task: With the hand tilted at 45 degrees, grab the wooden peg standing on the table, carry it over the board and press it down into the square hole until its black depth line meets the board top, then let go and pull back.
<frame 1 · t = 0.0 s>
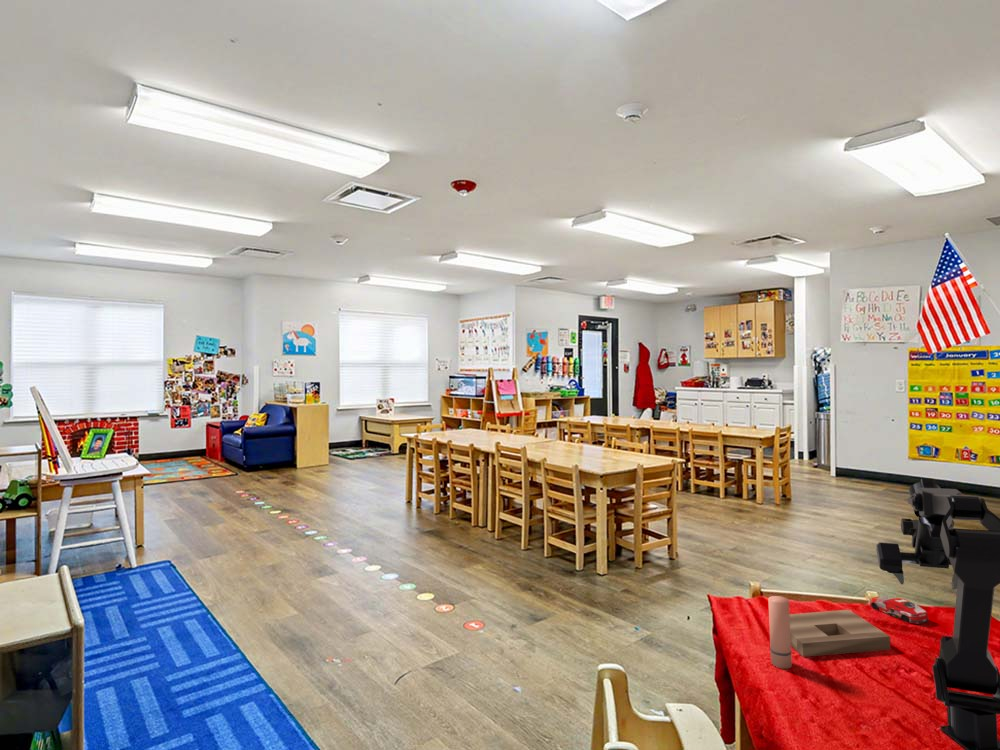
hand: (926, 585, 127), 15 cm above the table, tool tilted 35°, fingers open, 9 cm apart
peg: (781, 663, 126), on the table
board: (827, 638, 136), on the table
race car: (898, 615, 146), on the table
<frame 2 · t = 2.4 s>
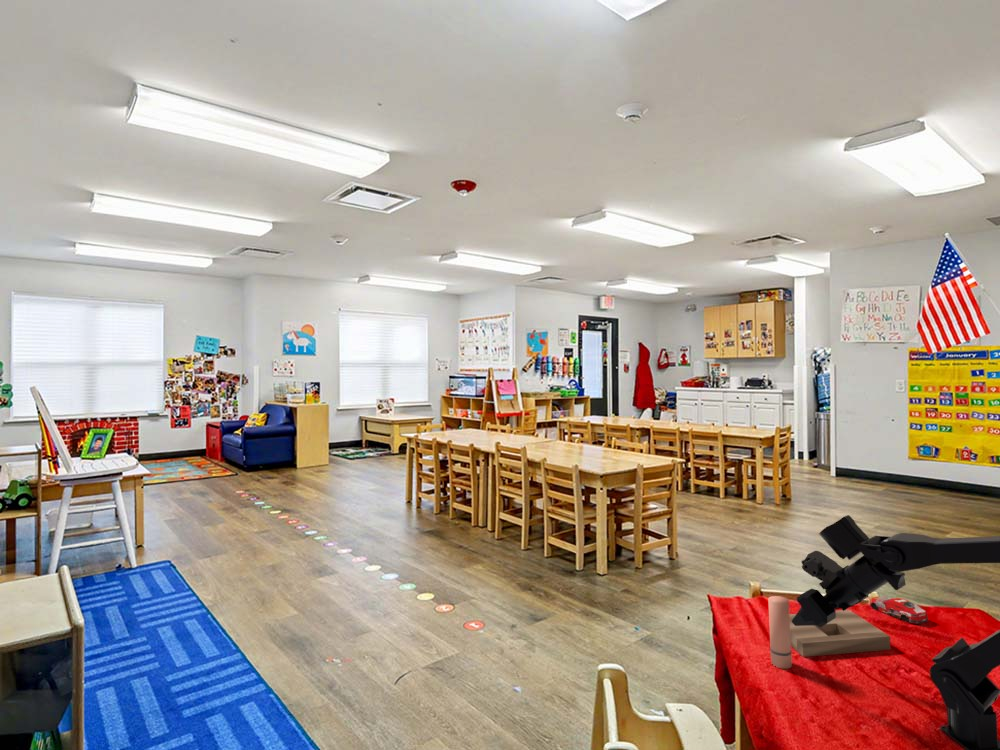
hand: (804, 616, 121), 12 cm above the table, tool tilted 45°, fingers open, 9 cm apart
nothing on the table moved.
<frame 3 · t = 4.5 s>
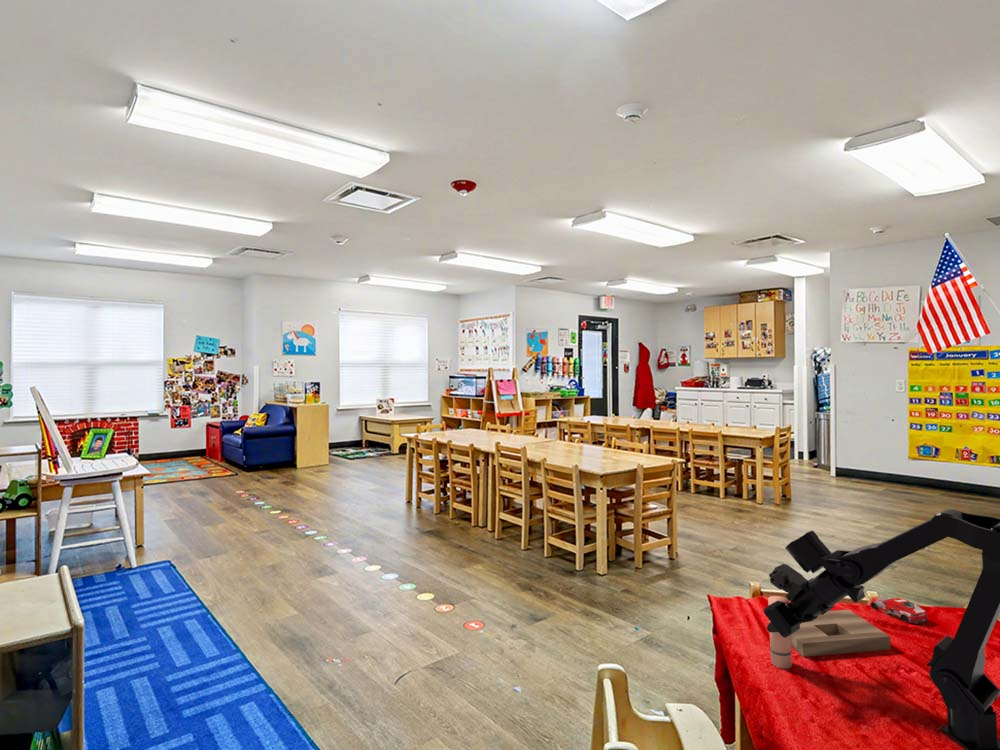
hand: (773, 626, 127), 8 cm above the table, tool tilted 45°, fingers closed on peg, 4 cm apart
peg: (781, 663, 126), on the table, touching gripper
everything else where it was.
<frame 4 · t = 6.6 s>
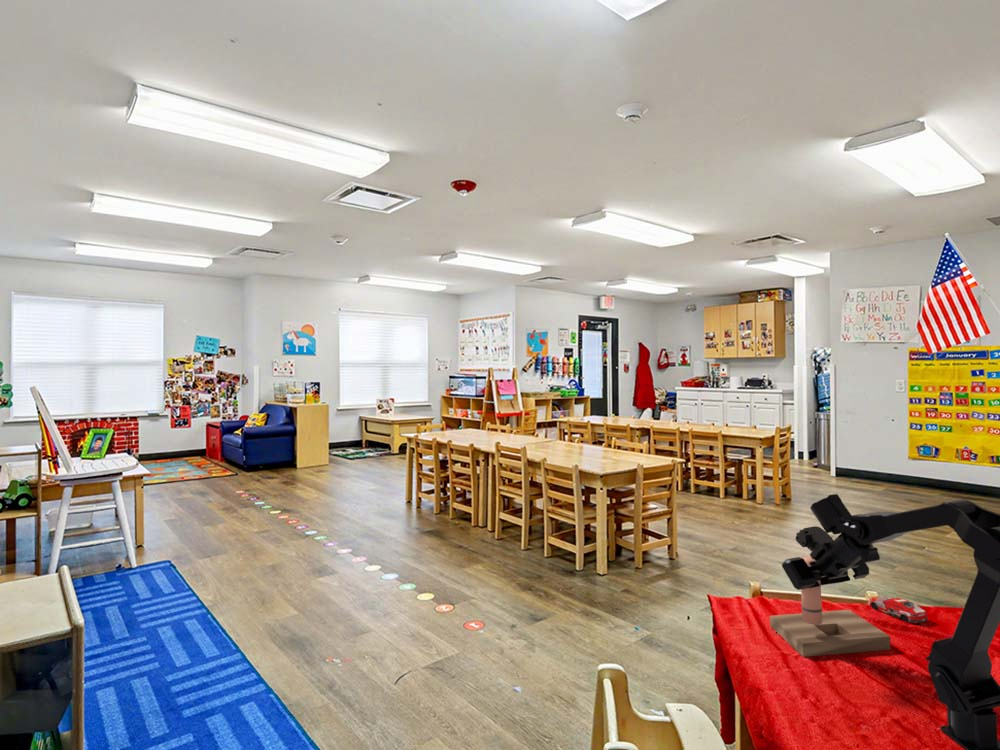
hand: (806, 585, 133), 14 cm above the table, tool tilted 45°, fingers closed on peg, 4 cm apart
peg: (812, 620, 132), point 6 cm above the table, touching gripper
everything else where it was.
when the fingers open (8 cm above the table, at t = 8.5 s): peg stays where it is, resting in board.
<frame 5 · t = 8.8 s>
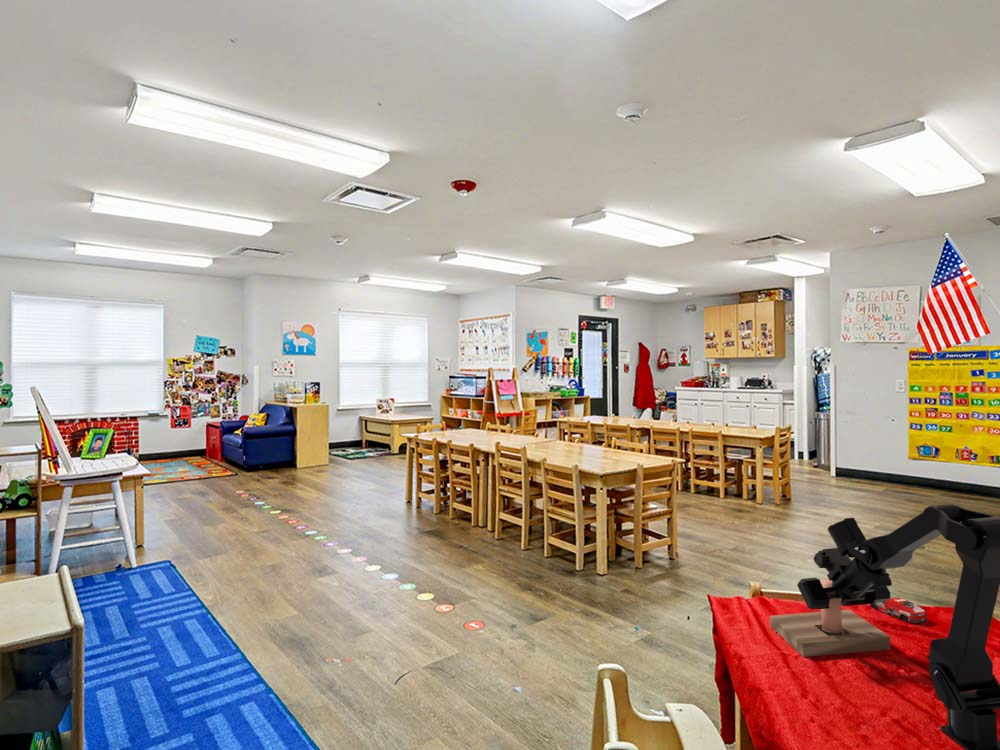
hand: (827, 605, 135), 8 cm above the table, tool tilted 45°, fingers open, 7 cm apart
peg: (832, 642, 134), resting in board
everything else where it was.
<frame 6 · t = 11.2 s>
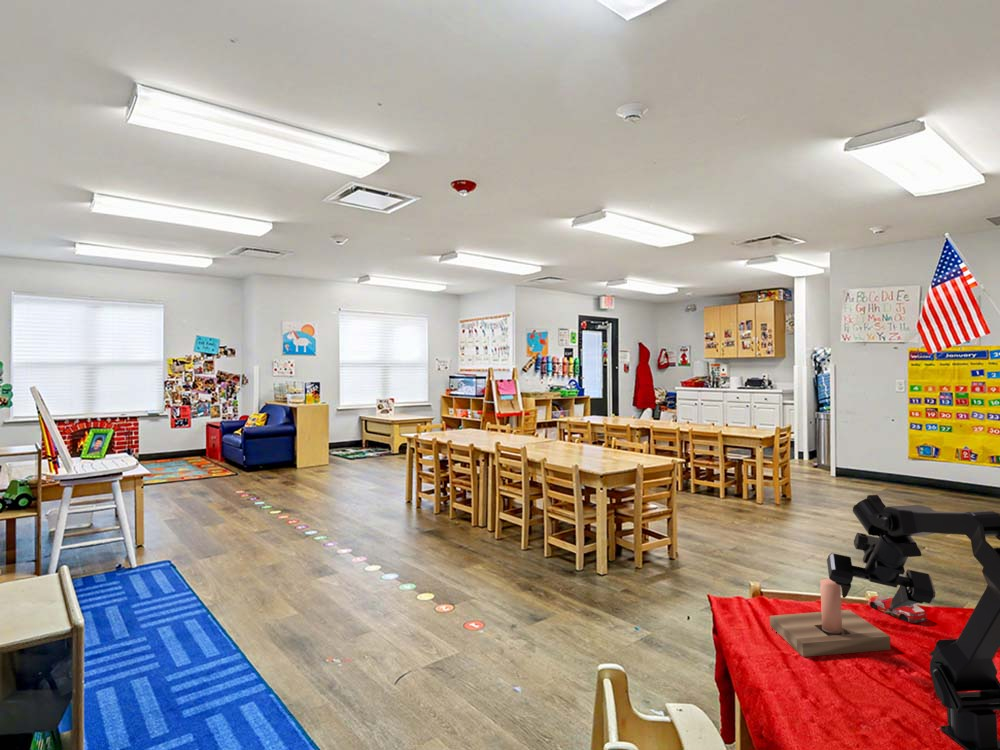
hand: (867, 601, 126), 12 cm above the table, tool tilted 30°, fingers open, 9 cm apart
nothing on the table moved.
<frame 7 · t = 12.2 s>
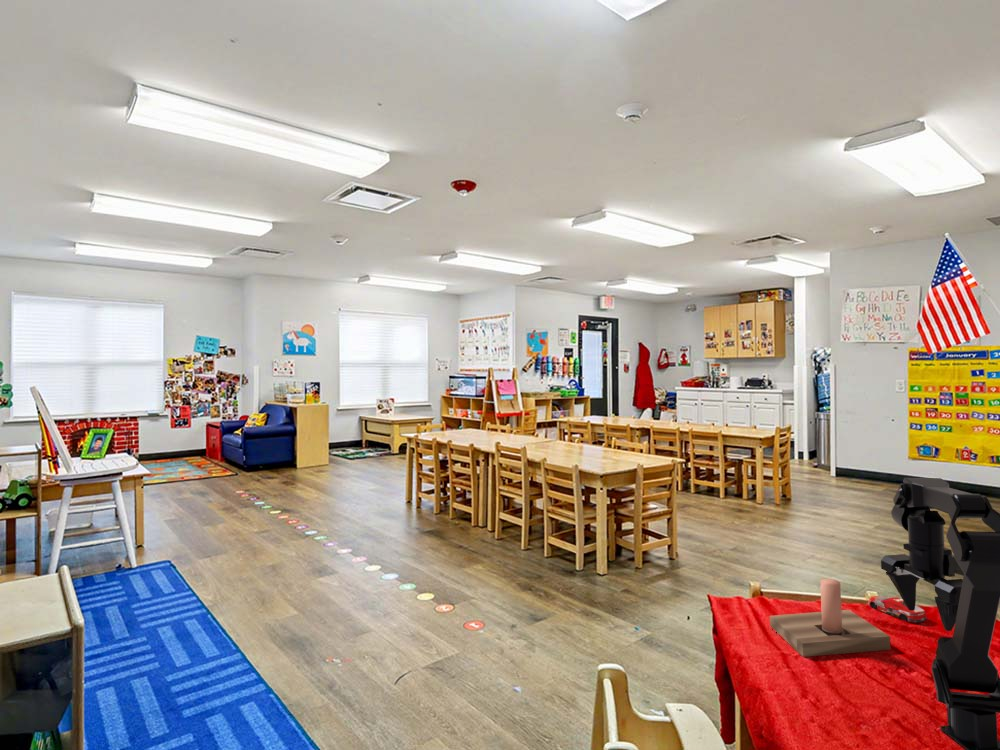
hand: (929, 620, 115), 13 cm above the table, tool pointing down, fingers open, 9 cm apart
nothing on the table moved.
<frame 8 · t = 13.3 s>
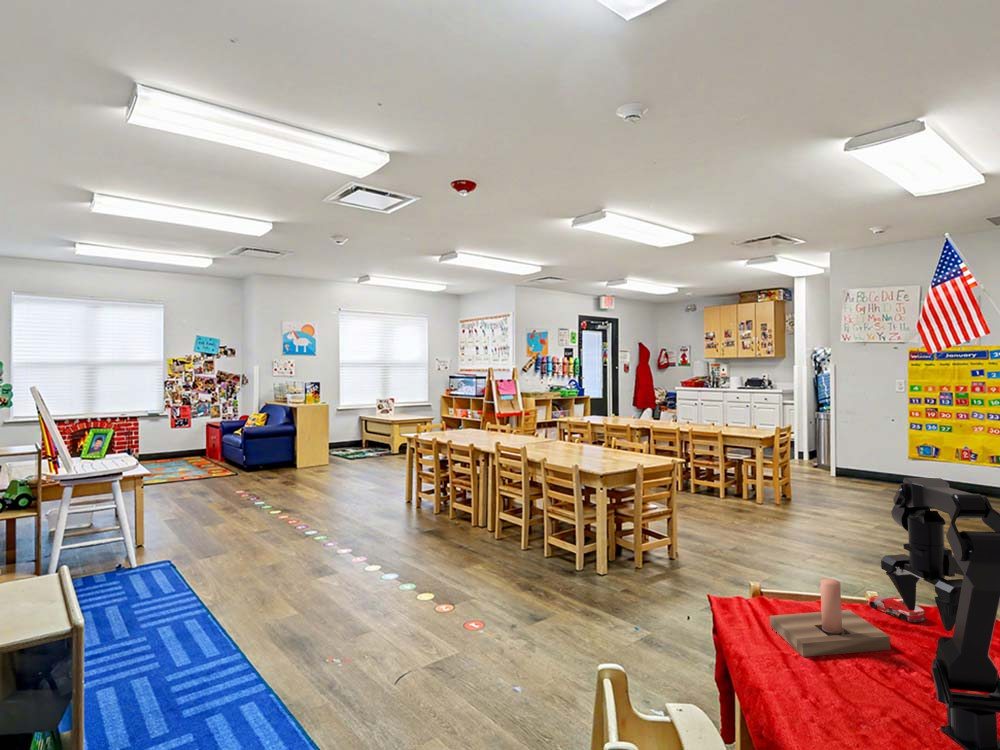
hand: (929, 620, 115), 13 cm above the table, tool pointing down, fingers open, 9 cm apart
nothing on the table moved.
at the end: peg 0.0 cm from the target spot on the board, point 0.0 cm above the board's base; peg tilted 0°; the gripper is holding nothing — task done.
